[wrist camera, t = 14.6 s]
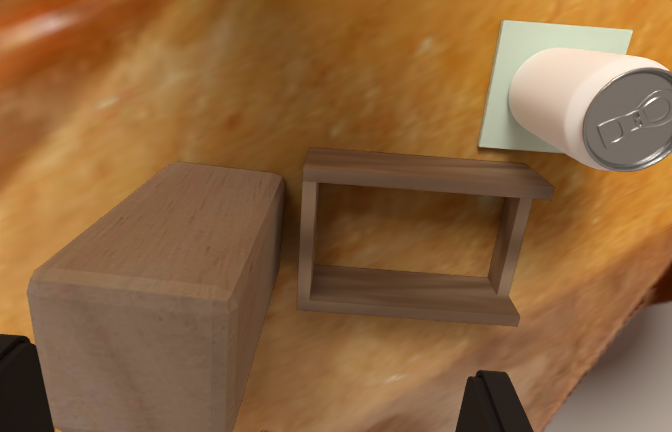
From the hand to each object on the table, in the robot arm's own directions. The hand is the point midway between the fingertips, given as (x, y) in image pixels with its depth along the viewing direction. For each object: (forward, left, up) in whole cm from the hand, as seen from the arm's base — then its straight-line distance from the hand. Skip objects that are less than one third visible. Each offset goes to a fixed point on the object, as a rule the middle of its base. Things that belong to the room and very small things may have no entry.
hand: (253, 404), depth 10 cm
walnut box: (+8, +8, -30) cm, 32 cm away
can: (-4, +17, -30) cm, 35 cm away
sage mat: (-4, +18, -30) cm, 35 cm away
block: (+9, -8, -31) cm, 33 cm away
